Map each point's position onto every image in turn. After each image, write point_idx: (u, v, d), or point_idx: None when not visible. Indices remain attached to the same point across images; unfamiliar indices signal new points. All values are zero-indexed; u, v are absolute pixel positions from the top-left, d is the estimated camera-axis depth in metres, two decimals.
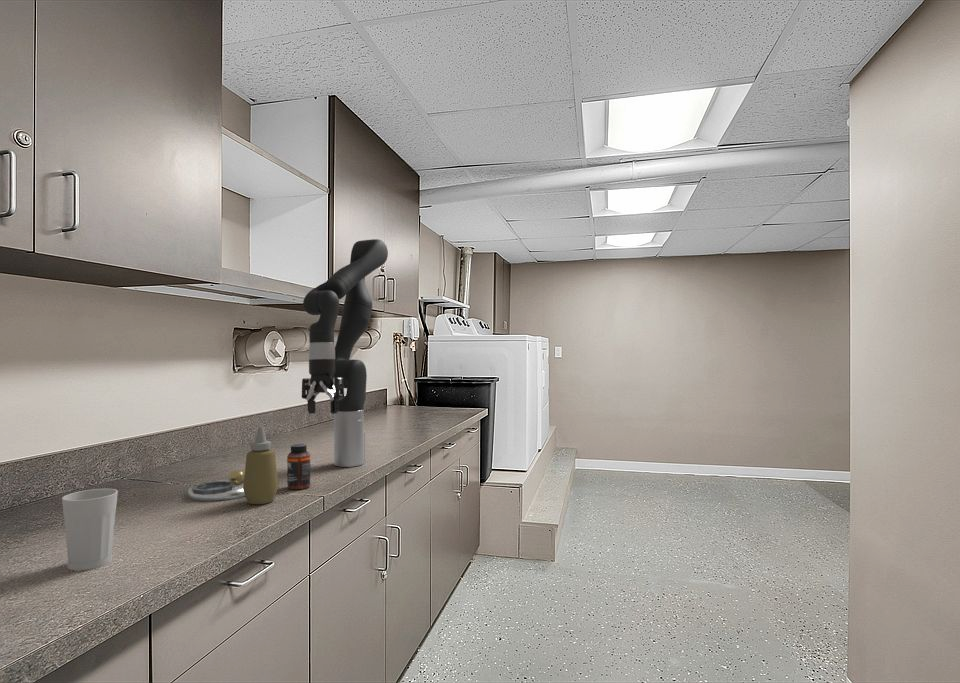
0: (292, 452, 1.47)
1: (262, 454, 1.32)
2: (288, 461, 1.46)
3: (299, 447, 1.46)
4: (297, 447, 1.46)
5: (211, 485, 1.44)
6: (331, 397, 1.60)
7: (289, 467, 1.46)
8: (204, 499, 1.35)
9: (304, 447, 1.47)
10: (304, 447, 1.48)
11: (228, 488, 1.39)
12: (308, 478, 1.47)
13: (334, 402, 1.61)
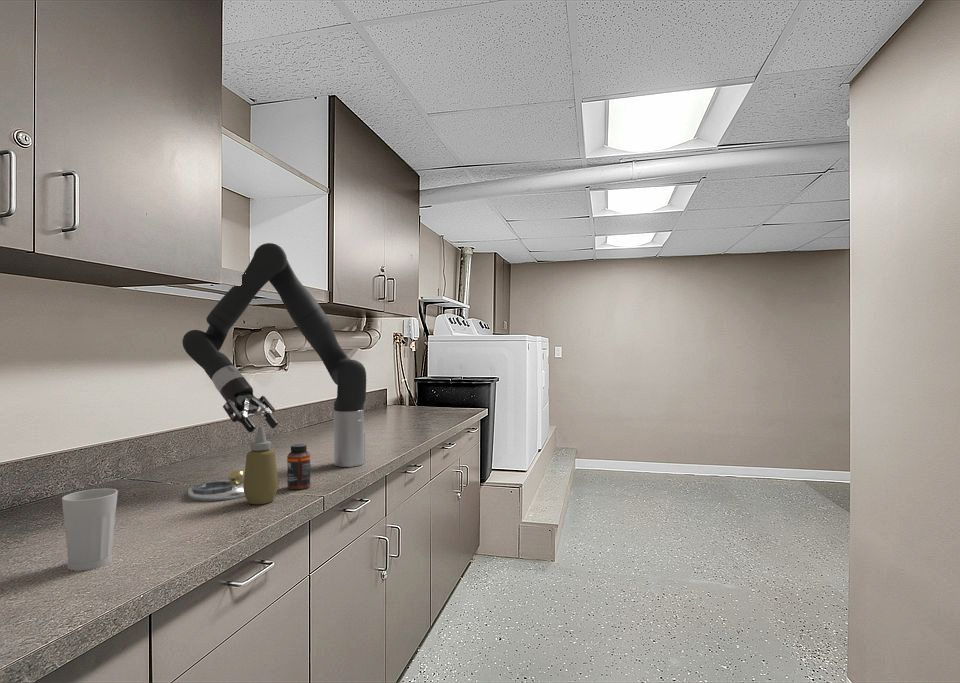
0: (292, 452, 1.47)
1: (262, 454, 1.32)
2: (288, 461, 1.46)
3: (299, 447, 1.46)
4: (297, 447, 1.46)
5: (211, 485, 1.44)
6: None
7: (289, 467, 1.46)
8: (204, 499, 1.35)
9: (304, 447, 1.47)
10: (304, 447, 1.48)
11: (228, 488, 1.39)
12: (308, 478, 1.47)
13: None
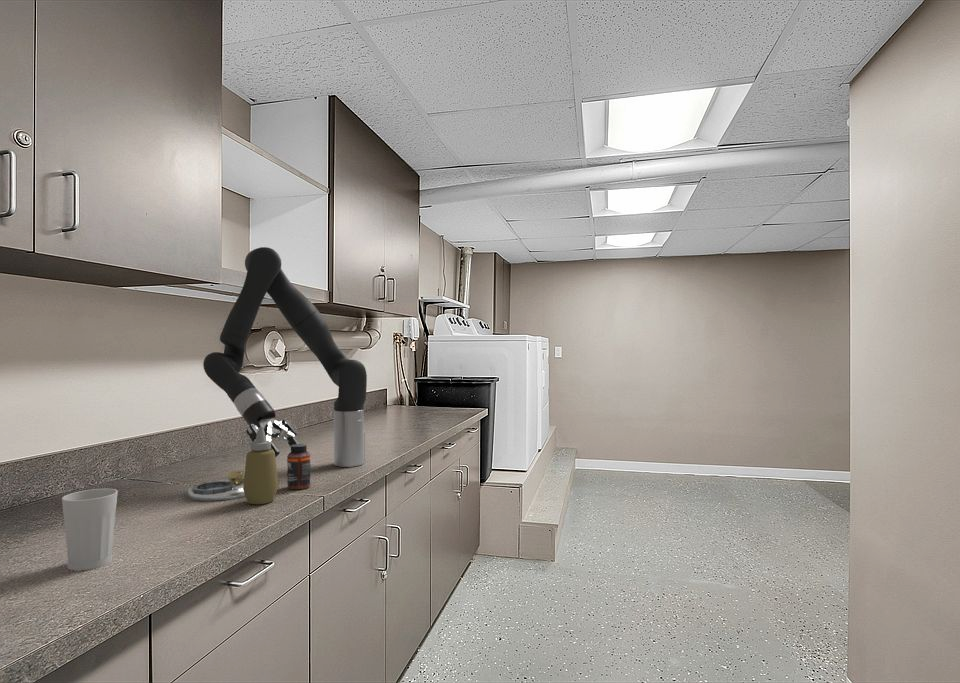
0: (292, 452, 1.47)
1: (262, 454, 1.32)
2: (288, 461, 1.46)
3: (299, 447, 1.46)
4: (297, 447, 1.46)
5: (211, 485, 1.44)
6: None
7: (289, 467, 1.46)
8: (204, 499, 1.35)
9: (304, 447, 1.47)
10: (304, 447, 1.48)
11: (228, 488, 1.39)
12: (308, 478, 1.47)
13: None
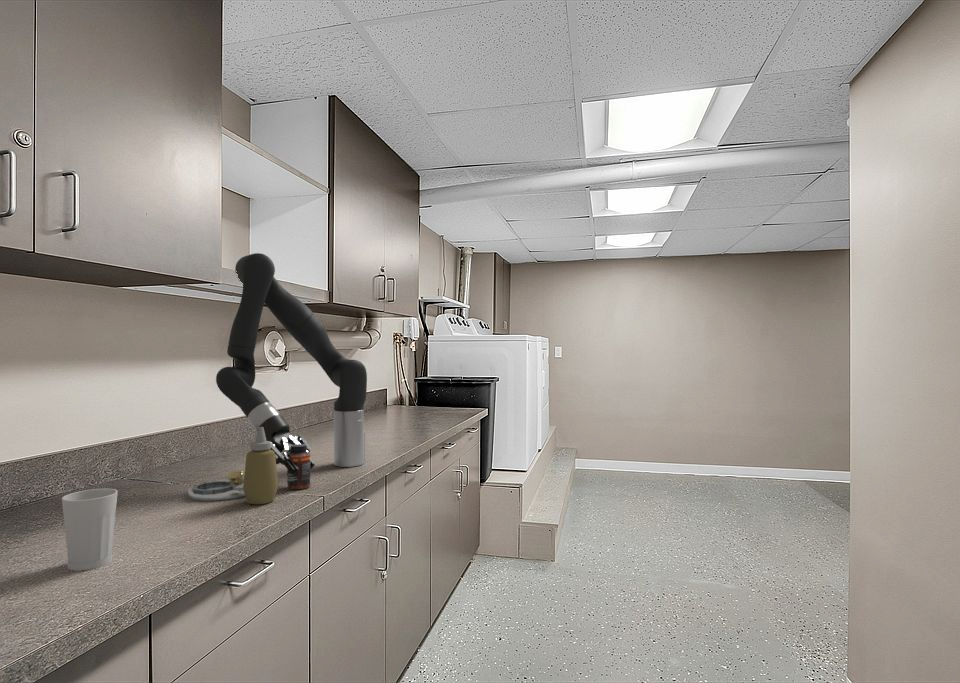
0: (292, 452, 1.47)
1: (262, 454, 1.32)
2: None
3: (299, 447, 1.46)
4: (297, 447, 1.46)
5: (211, 485, 1.44)
6: None
7: None
8: (204, 499, 1.35)
9: (304, 447, 1.47)
10: (304, 447, 1.48)
11: (228, 488, 1.39)
12: (308, 478, 1.47)
13: None
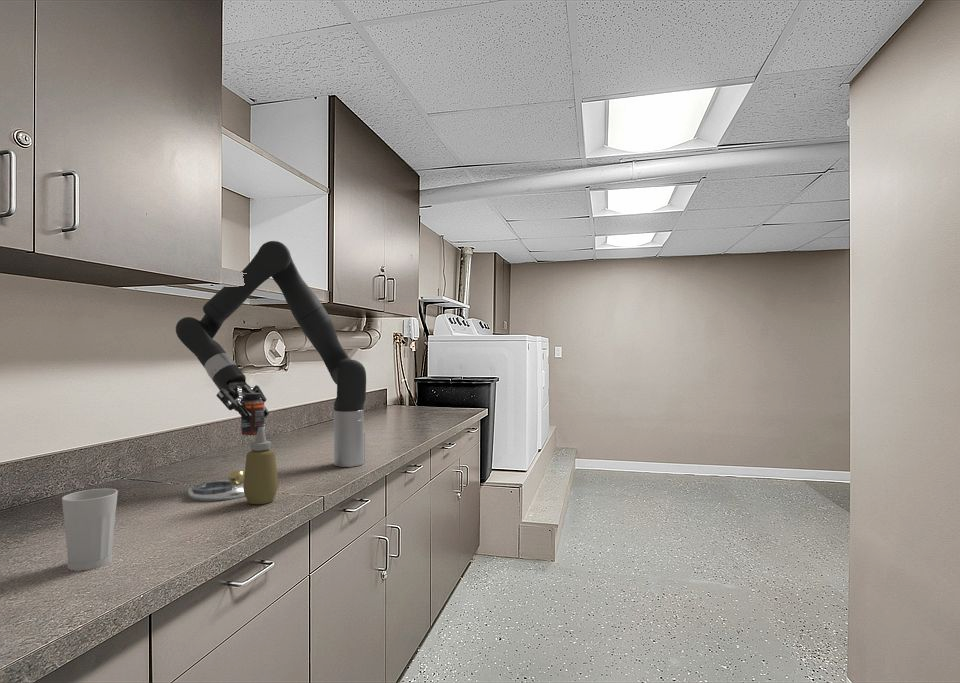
0: (246, 399, 1.52)
1: (262, 454, 1.32)
2: None
3: (253, 395, 1.51)
4: (251, 394, 1.51)
5: (211, 485, 1.44)
6: None
7: None
8: (204, 499, 1.35)
9: (258, 395, 1.53)
10: (258, 395, 1.53)
11: (228, 488, 1.39)
12: (261, 425, 1.52)
13: None
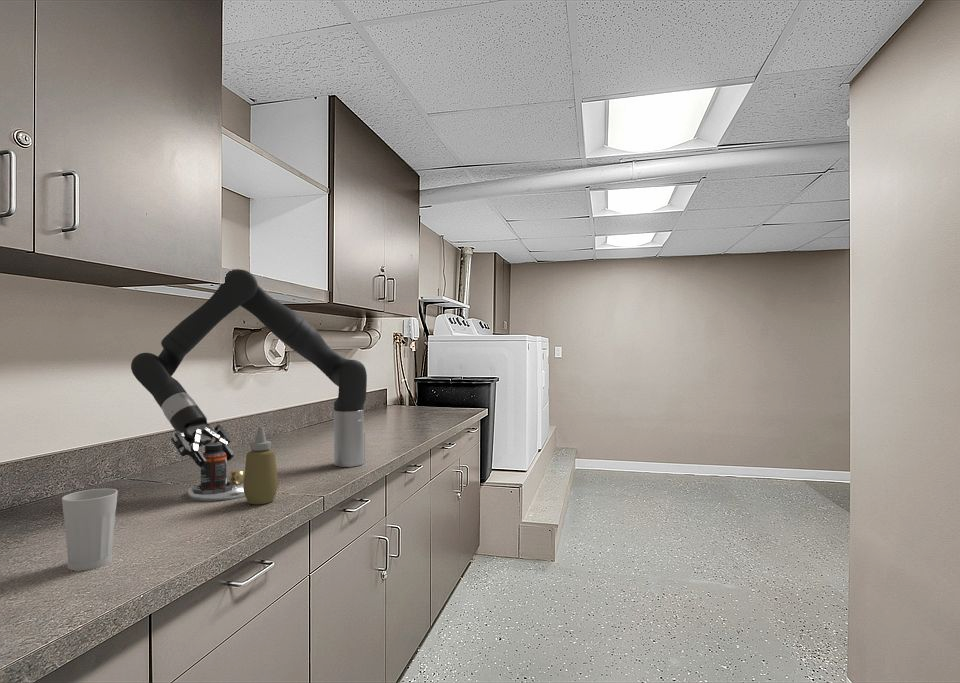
0: (206, 452, 1.39)
1: (262, 454, 1.32)
2: None
3: (213, 446, 1.39)
4: (211, 446, 1.39)
5: None
6: None
7: (202, 467, 1.38)
8: (204, 499, 1.35)
9: (219, 446, 1.40)
10: (219, 447, 1.40)
11: (228, 488, 1.39)
12: (223, 479, 1.40)
13: None
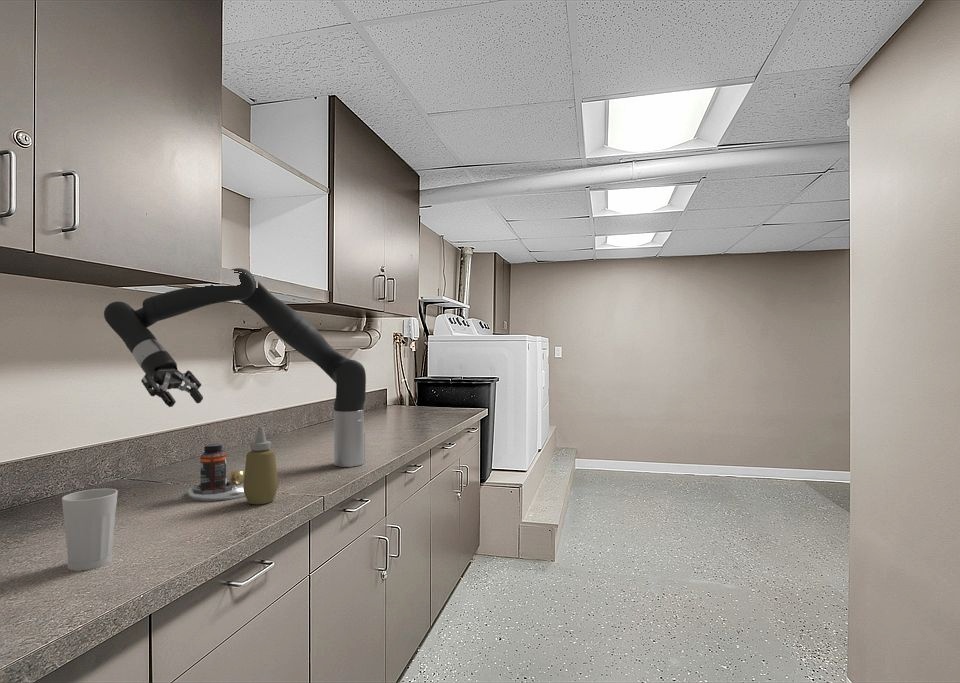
0: (205, 452, 1.39)
1: (262, 454, 1.32)
2: (201, 461, 1.39)
3: (212, 447, 1.39)
4: (210, 447, 1.39)
5: None
6: None
7: (201, 468, 1.38)
8: (204, 499, 1.35)
9: (218, 447, 1.40)
10: (219, 447, 1.40)
11: (228, 488, 1.39)
12: (222, 479, 1.40)
13: None
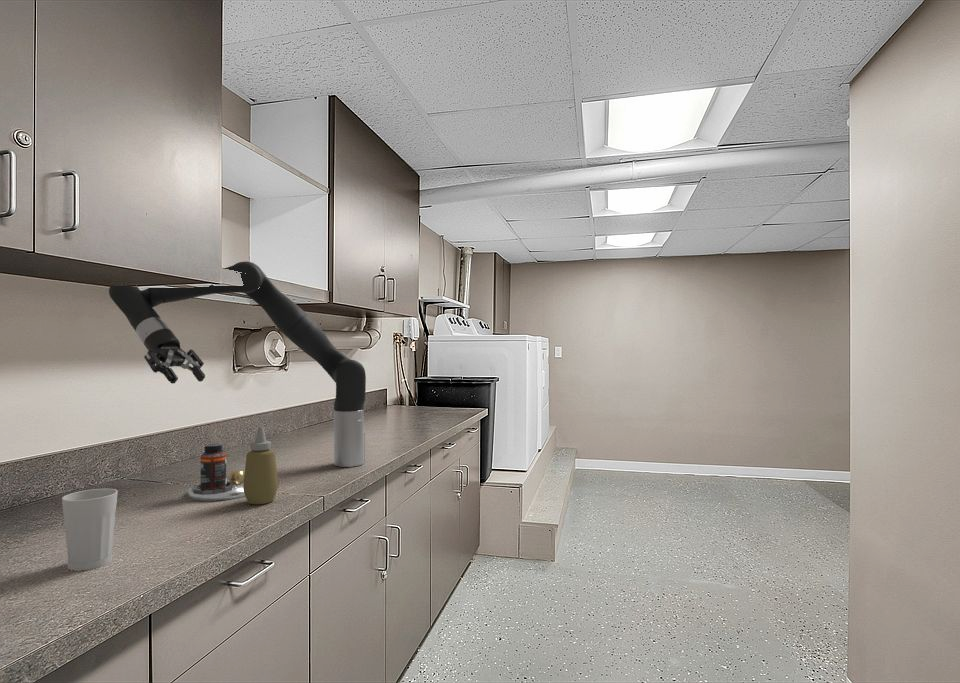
0: (205, 452, 1.39)
1: (262, 454, 1.32)
2: (201, 461, 1.39)
3: (212, 447, 1.39)
4: (210, 447, 1.39)
5: None
6: None
7: (202, 468, 1.38)
8: (204, 499, 1.35)
9: (218, 447, 1.40)
10: (219, 447, 1.40)
11: (228, 488, 1.39)
12: (222, 479, 1.40)
13: None
